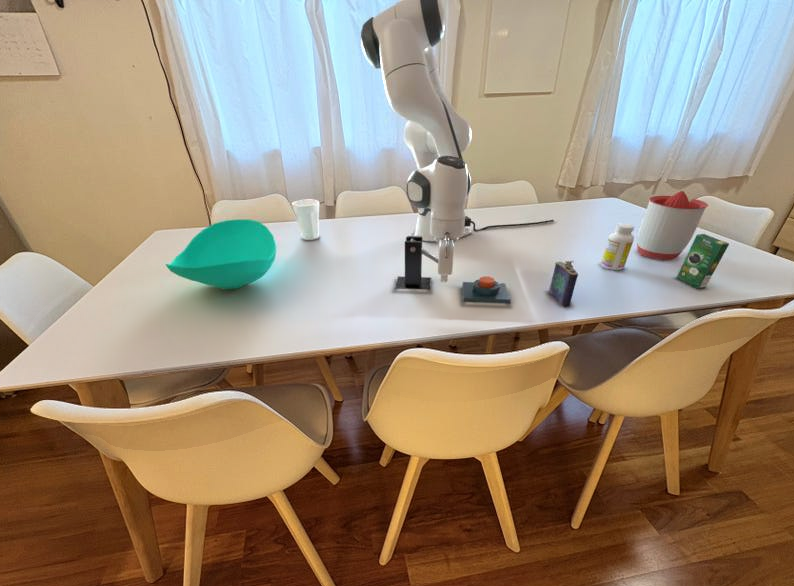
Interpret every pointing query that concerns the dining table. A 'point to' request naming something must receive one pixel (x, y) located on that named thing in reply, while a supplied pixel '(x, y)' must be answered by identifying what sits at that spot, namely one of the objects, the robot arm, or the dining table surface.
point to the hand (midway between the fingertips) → (444, 277)
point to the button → (486, 282)
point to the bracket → (413, 266)
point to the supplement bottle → (618, 247)
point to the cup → (307, 217)
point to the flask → (563, 282)
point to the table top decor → (227, 254)
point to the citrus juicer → (669, 225)
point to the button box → (485, 293)
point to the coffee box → (702, 260)
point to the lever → (427, 253)
